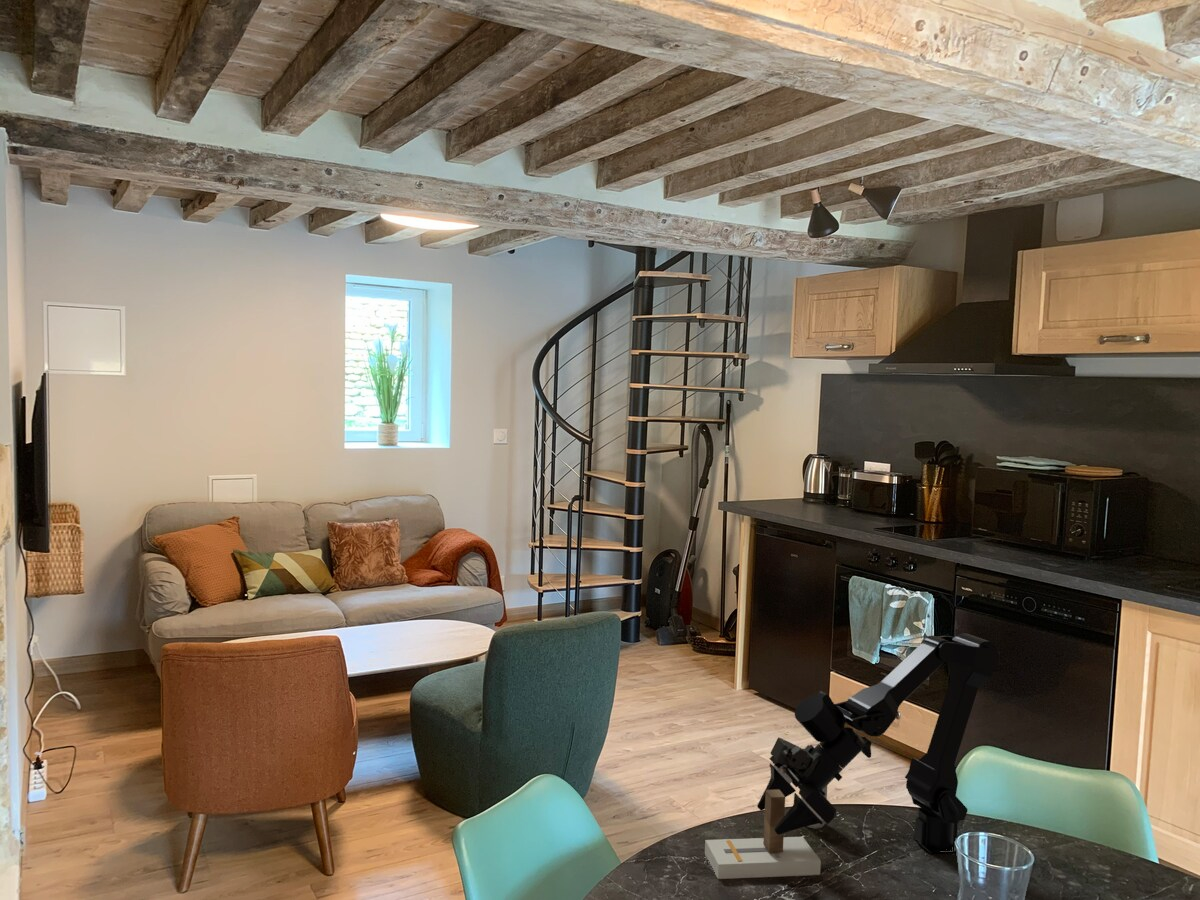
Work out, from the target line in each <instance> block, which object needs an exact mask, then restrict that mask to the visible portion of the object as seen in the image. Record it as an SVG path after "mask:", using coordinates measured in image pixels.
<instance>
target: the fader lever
mask: <svg viewBox="0 0 1200 900" xmlns="http://www.w3.org/2000/svg"><path fill="white" fill-rule="evenodd" d="M785 811H786V797H785V796H784V795H783V793H782V792H781V791H780V790H766V794H765V809H764V820H763V822H764V824H763V838H764V841H763V844H764V846H765V847H766V849H767V850H768V852H783V837H785V835H784V834H785V833H783V834H780V835H778V834H777V833H776V832H775V831H774V829H775V828H776V826H777V825H778V823H779V822H780V821H781V820H782V818H783V817H784V816H785V815H786V814H785Z"/></svg>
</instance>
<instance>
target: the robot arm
mask: <svg viewBox="0 0 1200 900" xmlns="http://www.w3.org/2000/svg"><path fill="white" fill-rule="evenodd" d="M999 660H1000V651H998V647H997V646H996V645H995V643H994V642H992V641H990V640H986V639H984V638H981V637H979V636H974V635H972V634H969V633H964V632H963V633H960V634H958V635H956V636H949V635H940V636H935V635H927V636H925V637H924V638H922V640H921V642H920V645H918V646H917V647H916V648H915V649H914V650H913V651H912V652H911V653H910V654H909V655H908V656H906V658H904V659H903V660H902V661H901V662H900V663H899V664H898V665H897V666H896V667H894V669H893V670H891V672H890V673H889V674H888V675H886V676H885V677H884V678H882V680H881V681H879V682H878V683H876V684H875V685H871V686H868V687H865V688H861V690H860V691H857V692H856V693H854V694H853V695H852V696H850V697H849V698H848V699H847V700H845V701H842V702H838V703H834V701H833V700H832V698H831V697H830V695H828V694H827V693H826V692H824V691H822V690H820V691H819V692H818V693H817V694H815V695H810V696H808V697H806V698H805V699H804V700H801V701H800V702H799V703H798V704H797V706H796V708H795V710H794V717H795V719H796V721H797V722H798V723H799V724H800V725H801V726H802V727H803V728H804V729H805V731H807V733H808V734H809V735H810V736H811V737H812V738H813V739H814V740H815V741H816V742H819V743H818V744H817V745H816V746H815V747H814V745H813V744H810V745H809V744H808V745H807V746H806V747H805V748H802V747H800V746H799V745H796V744H795V743H792V742H790V741H787V740H786V739H783V738H782V737H777V739H776V741H775V743H774V745H773V747H772V749H771V751H770V752H769V753H770V755H771V756H770V757H769V760H770V761H771V763H769V768H770V779H769V781H768V783H767V786H766V788H765V789H764V791H763V793H762V795H761V797H760V799H759V801H758V802H757V805H756V807H757V808H758V809H759V810H760V811H763V810H764V811H765V794H766V790H780V791H781V792H782V793H783V795H784V796H785V798H787V797H789V796H790V795H792V794H794V795H793V804H792V806H791V807H790V809H789V810H787V813H786V814H784V817H783V818H782V820H781V821H780V822H779V823H778V825H777V826H776V828H775V829H774V831H775V832H776V833H777V834H778V835H780V834H783V833H784V834H786V833H789V832H792V831H795V830H798V829H801V828H806V826H810V825H814V824H820V825H822V824H823V822H822V821H821V819H823V820H824V821H825V824H826V825H830V824H831V823H832V822H833V821H834V820H835V819H836V818H837V808H836V807H835V806H834V805H833V804H832V803H831V802H830V801H829V800H828V799H826V798H825V797H824V795H825V793H824V792H823V791H822V790H823V789H824V788H825V787H826V786H827V787H828V785H829V784H830V783H831V782H832V781H833V780H834V779H835V780H837V781H838V782H840V781H841V780H842V778H843V776H842V775H841V774H840V773H841V772H842V771H843V770H844V769H845V768H846V767H847V766H848V765H849V764H850V763H851V762H852V761H853V760H854V759H855V757H857V755H859V754H860V753H862V754H863V755H864V756H865V757H866V758H868V759H870V758H871V757H872V741H871V740H869V739H868V738H867V737H866V736H860V734H858V732H857V731H860V732H862V733H863V734H865V735H867V736H869V737H875V738H876V737H877V738H879V737H881V736H882V735H884V734H885V733H886V731H888V729H889V728H890V726H891V725H892V724H893V723H894V721H895V720H896V718H897V716H898V710H899V707H901V704H902V703H903V702H904V701H905V700H906V699H907V698H909V697H910V696H911V695H912V694H913V692H915V691H916V690H917V689H918V688H919V687H920V686H921V685H922V684H923V683H924V682H926V680H928V679H929V677H930V676H932V675H933V674H934V672H936V671H937V670H938V669H939V668H940V667H941V666H942V665H943V664H945V663H946V664H947V669H948V674H949V678H950V679H949V682H948V685H947V687H946V692H945V695H944V698H943V700H942V705H941V707H940V709H939V710H940V711H939V714H938V717H937V719H936V722H935V726H934V730H933V733H932V736H931V739H930V742H929V745H928V749H927V751H926V753H925V754H924V755H922V756H921V757H920V758H918V759H917V758H915V757H913V758H912V759H911V760H910V764H909V769H908V771H907V774H906V775H905V776H904V778H905V779H906V784H905V786H906V787H905V788H906V789H907V792H908V794H909V795H910V798H911V801H912V804H914V805H915V806H917V807H919V808H918V814H917V816H916V817H915V826H914V827H915V828H914V834H913V833H912V838H913V839H914V840H915V841H916V840H917V841H918V842H917V841H916V842H917V843H918V844H919V845H920V846H921V847H922V848H923V849H924V848H925V849H926V850H927V851H928V852H927V851H926V850H925V849H924V850H925V851H926V852H927V853H929V852H931V853H930V854H933V853H932V852H940V851H950V850H951V851H952V847H953V851H954V841H955V838H956V837H957V838H958V832H959V831H958V829H959V822H962V821H965V819H966V817H967V813H968V810H969V809H968V808H967V806H966V805H964V803H963V802H962V801H961V800H960V799H959V798H958V796H957V791H958V785H959V781H958V776H957V770H956V765H955V764H956V761H957V757H958V754H959V750H960V749H961V744H962V741H963V737H964V735H965V731H966V728H967V726H968V722H969V718H970V716H971V713H972V709H973V705H974V703H975V701H976V696H977V694H978V691H979V689H980V688H981V687H982V686H983V685H985V684H986V682H988V681H989V680H991V678H992V676H993V674H994V672H995V671H996V669H997V665H998V663H999ZM845 724H846V725H847V726H849V727H846V726H845ZM844 726H845V727H844ZM856 730H857V731H856ZM792 785H793V786H794V787H795V788H798V789H799V792H798V794H799V795H798V794H797V793H796V792H797V790H796V789H795V788H794V787H793V786H792ZM801 797H802V798H803V799H801ZM946 849H947V850H946Z"/></svg>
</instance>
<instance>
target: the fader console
mask: <svg viewBox="0 0 1200 900" xmlns="http://www.w3.org/2000/svg"><path fill="white" fill-rule="evenodd" d="M763 841H764V837H754V838H752V837H751V838H729V839H728V838H727V839H705V840H704V842H705V843H704V855H705V857H706V859H707V861H708V860H709V861H708V863H709V862H710V863H709V865H710V864H711V865H710V867H711V866H712V867H711V869H712V868H713V869H712V871H713V870H714V871H713V873H714V872H715V873H714V874H715V877H716V878H717V879H718V880H726V879H731V880H732V879H752V878H768V877H769V878H773V877H775V878H777V877H794V876H795V877H797V876H801V877H802V876H819V875H821V866H822V865H821V864H822V862H821V859H820V857H819V856H818V855H817V853H816V852H815V851H814V850H813V849H812V847H811V846H810V845H809V843H808V842H807V840H806V839H805V838H804V837H803V836H787V837H786V836H784V837H783V852H768V850H767V849H766V847H765V846H764V844H763Z"/></svg>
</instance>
